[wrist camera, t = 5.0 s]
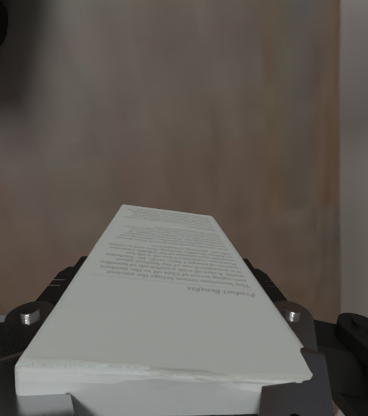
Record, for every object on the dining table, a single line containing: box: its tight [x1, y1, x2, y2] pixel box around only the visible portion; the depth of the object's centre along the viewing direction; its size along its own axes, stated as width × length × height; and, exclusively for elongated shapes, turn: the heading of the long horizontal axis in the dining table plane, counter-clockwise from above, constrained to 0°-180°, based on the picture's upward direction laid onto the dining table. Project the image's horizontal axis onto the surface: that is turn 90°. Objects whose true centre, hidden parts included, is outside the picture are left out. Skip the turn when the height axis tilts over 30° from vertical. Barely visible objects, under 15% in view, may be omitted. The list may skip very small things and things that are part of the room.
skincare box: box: [15, 205, 313, 416], centre depth 11 cm, size 6×4×12 cm
